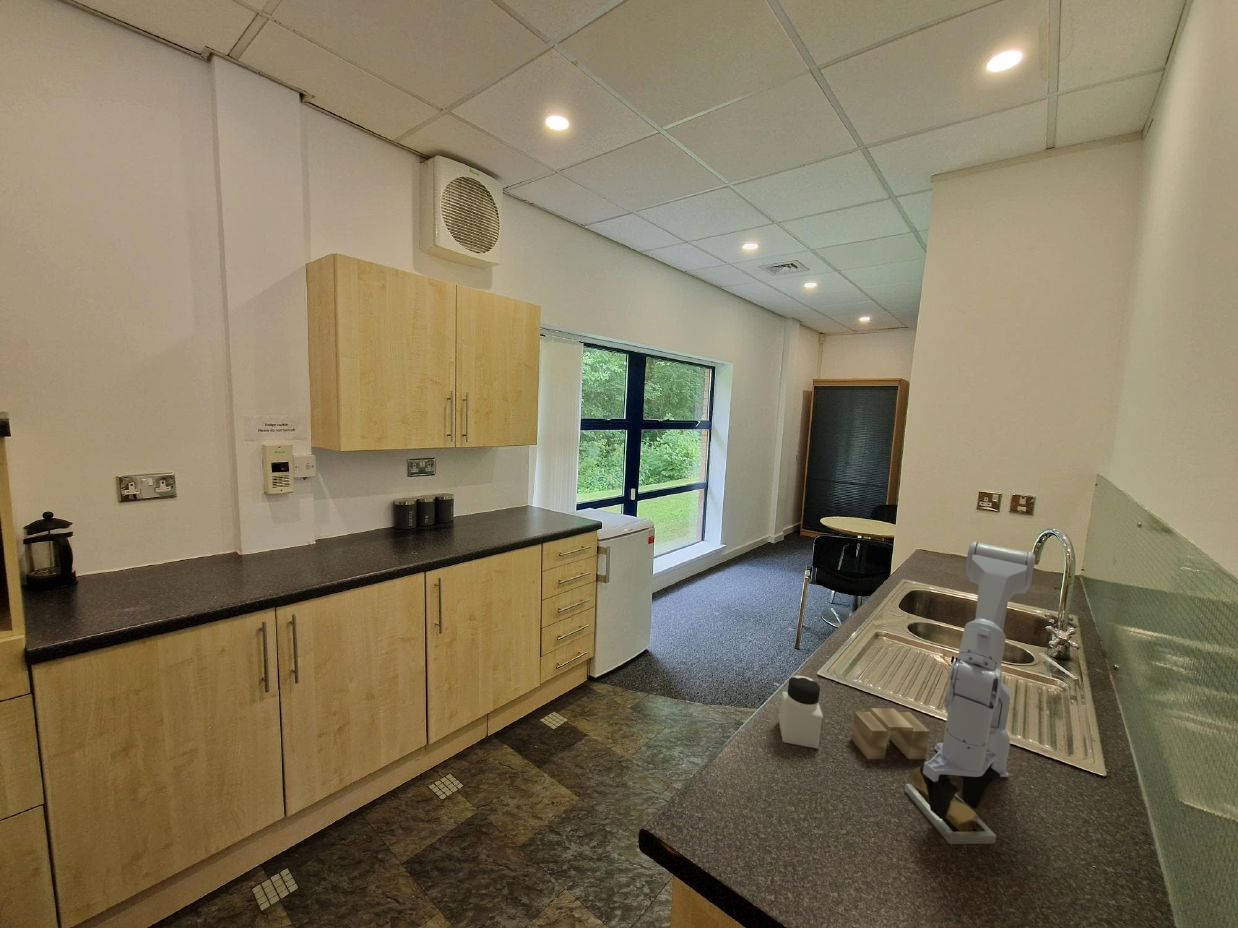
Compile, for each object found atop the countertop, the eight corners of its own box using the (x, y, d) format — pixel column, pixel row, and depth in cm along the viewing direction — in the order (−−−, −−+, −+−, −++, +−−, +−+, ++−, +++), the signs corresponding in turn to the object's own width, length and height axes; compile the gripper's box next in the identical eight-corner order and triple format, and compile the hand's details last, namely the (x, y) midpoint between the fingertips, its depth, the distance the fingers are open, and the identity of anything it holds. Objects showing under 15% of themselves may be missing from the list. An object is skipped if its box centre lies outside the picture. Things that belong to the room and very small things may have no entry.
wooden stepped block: (905, 738, 104) (909, 708, 103) (925, 758, 98) (930, 727, 97) (851, 738, 102) (855, 707, 102) (867, 758, 97) (872, 726, 96)
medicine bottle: (819, 749, 98) (826, 693, 97) (782, 742, 100) (788, 687, 98) (813, 727, 105) (819, 674, 104) (778, 721, 107) (784, 669, 105)
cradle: (945, 790, 90) (946, 783, 89) (994, 843, 79) (996, 835, 79) (904, 790, 89) (905, 783, 89) (949, 843, 78) (950, 836, 78)
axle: (905, 784, 90) (914, 764, 89) (920, 788, 91) (930, 769, 91) (954, 830, 80) (965, 808, 80) (971, 835, 81) (981, 814, 81)
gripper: (973, 713, 87) (961, 783, 89) (911, 725, 82) (900, 799, 84) (1016, 739, 80) (1002, 814, 82) (952, 754, 76) (939, 833, 77)
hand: (953, 809), depth 82 cm, fingers open, 7 cm apart
